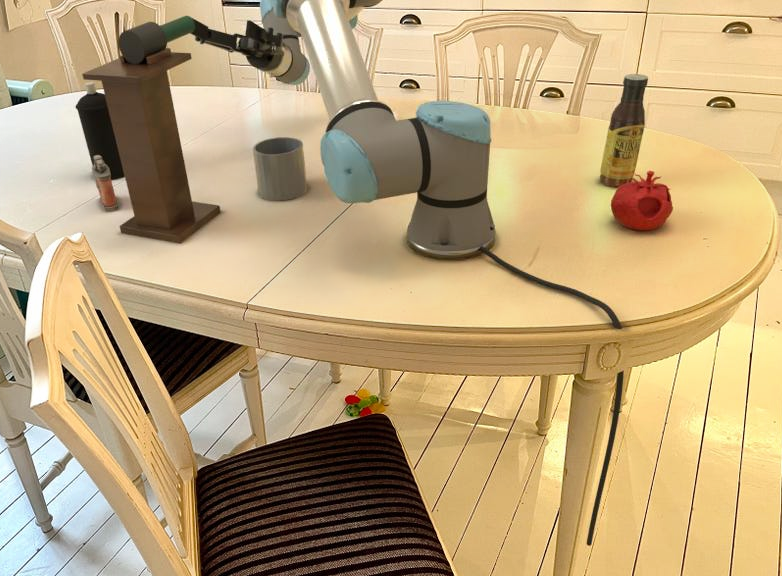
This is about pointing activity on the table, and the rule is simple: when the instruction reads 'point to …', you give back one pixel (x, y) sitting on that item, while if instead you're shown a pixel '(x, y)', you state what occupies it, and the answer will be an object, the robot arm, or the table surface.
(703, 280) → the table surface
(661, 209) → the red hollow tomato
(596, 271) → the table surface
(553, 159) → the table surface
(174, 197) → the stand
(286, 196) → the steel cup
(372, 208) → the table surface
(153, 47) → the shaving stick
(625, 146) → the sauce bottle
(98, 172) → the lighter
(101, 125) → the aerosol can
